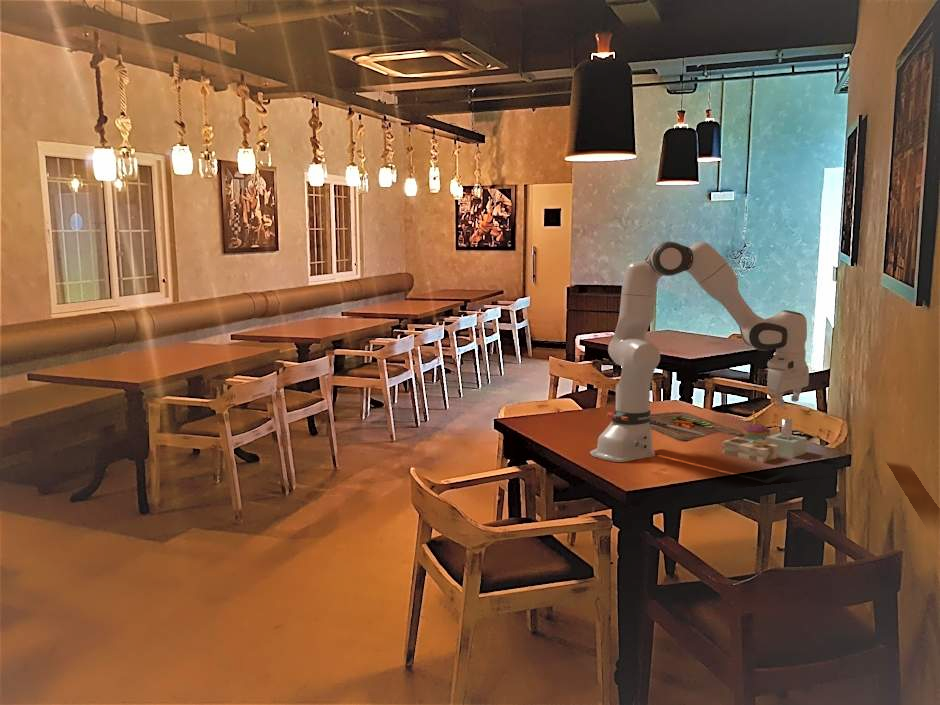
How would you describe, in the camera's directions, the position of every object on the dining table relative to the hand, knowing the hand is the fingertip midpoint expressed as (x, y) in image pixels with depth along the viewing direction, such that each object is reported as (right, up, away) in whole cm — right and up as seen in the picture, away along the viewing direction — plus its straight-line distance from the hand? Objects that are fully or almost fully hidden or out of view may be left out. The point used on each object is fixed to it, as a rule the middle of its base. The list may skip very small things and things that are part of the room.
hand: (787, 403), depth 241 cm
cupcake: (-4, -16, +17) cm, 23 cm away
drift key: (-10, -18, -3) cm, 21 cm away
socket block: (-13, -18, 0) cm, 22 cm away
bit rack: (+1, -17, +2) cm, 18 cm away
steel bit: (0, -16, +2) cm, 17 cm away
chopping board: (-21, -13, +44) cm, 50 cm away
